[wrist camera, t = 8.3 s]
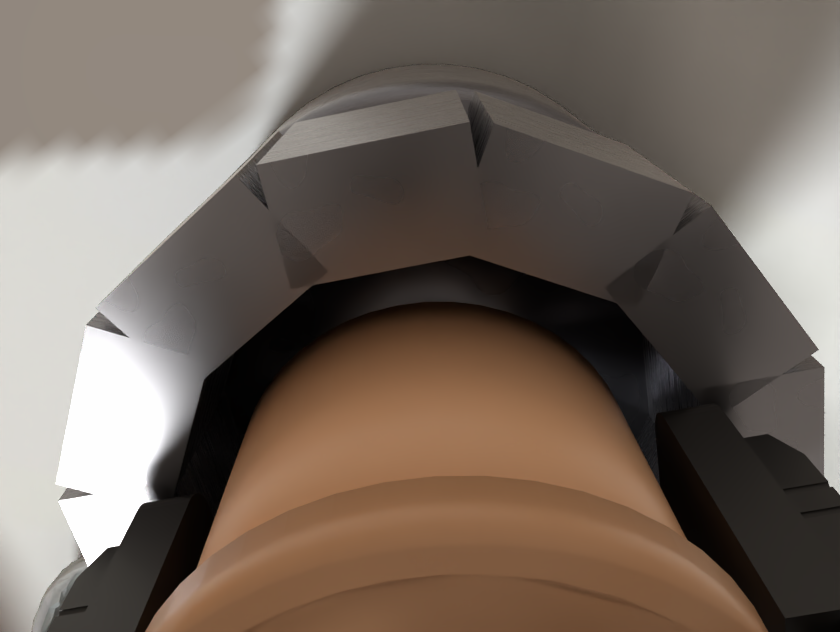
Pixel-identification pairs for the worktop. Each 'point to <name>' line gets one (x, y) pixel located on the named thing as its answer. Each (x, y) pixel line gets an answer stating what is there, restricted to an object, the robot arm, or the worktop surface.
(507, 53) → the worktop surface
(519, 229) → the canister
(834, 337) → the worktop surface
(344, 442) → the cap
